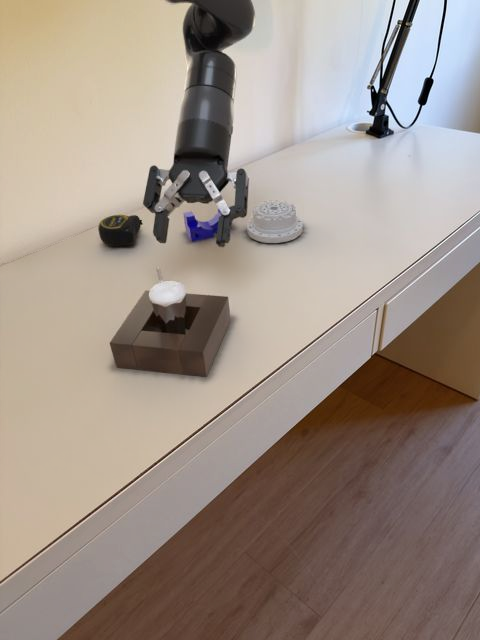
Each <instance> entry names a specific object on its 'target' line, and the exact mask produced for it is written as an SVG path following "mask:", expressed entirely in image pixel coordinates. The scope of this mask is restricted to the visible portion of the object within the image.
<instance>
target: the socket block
mask: <svg viewBox="0 0 480 640" xmlns="http://www.w3.org/2000/svg"><path fill="white" fill-rule="evenodd" d="M149 292H150V290H146V289H145V290H144V292H143V293H142V294H141V296H140V297H139V299H138V300H137V302H136V304H135V305H133V307H132V309H131V311H130V312H129V314H128V315H127V317H126V318H125V319H124V321H123V322H122V324H121V325H120V327H119V328H118V330H117V331H116V333H115V334H114V335H113V337H112V339H110V341H109V346H110V351H111V353H112V357H113V360H114V363H115V367H116V368H119V369H129V370H138V371H147V372H155V373H164V374H165V373H166V374H174V375H184V376H194V377H202V378H207V377H208V375H209V373H210V370H211V367H212V365H213V363H214V360H215V358H216V356H217V353H218V351H219V349H220V347H221V344H222V342H223V339H224V337H225V334H226V332H227V330H228V328H229V326H230V322H231V321H232V320H231V311H230V302H229V301H230V300H229V296H227V295H214V294H213V295H212V294H201V293H188V292H186V304H187V319H188V333H187V335H183V334H172V333H161V331H160V328H159V325H158V321H157V318H156V315H155V313H154V310H153V307H152V304H151V301H150V298H149Z"/></svg>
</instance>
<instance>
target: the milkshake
mask: <svg viewBox="0 0 480 640" xmlns="http://www.w3.org/2000/svg"><path fill="white" fill-rule="evenodd" d="M156 272H157V276H158V280H159V282H158V283H156V284H154V285H153V286H152V288H150V290H149V291H150V292H149V298H150V301H151V304H152V307H153V310H154V313H155V315H156V318H157V321H158V325H159V328H160V332H161V333H172V334H183V335H187V333H188V332H189V330H188V319H187V304H186V293H187V289H186V287H185V285H184V284H183V283H182V282H180V281H176V280H167V281H164V277H163V274H162V270H161V267H157V268H156Z"/></svg>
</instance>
